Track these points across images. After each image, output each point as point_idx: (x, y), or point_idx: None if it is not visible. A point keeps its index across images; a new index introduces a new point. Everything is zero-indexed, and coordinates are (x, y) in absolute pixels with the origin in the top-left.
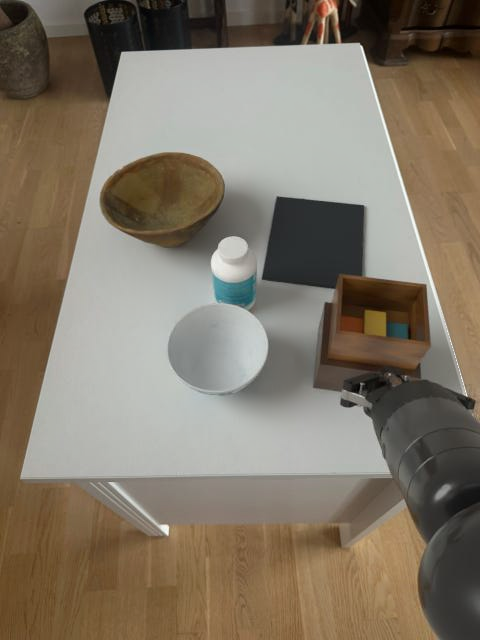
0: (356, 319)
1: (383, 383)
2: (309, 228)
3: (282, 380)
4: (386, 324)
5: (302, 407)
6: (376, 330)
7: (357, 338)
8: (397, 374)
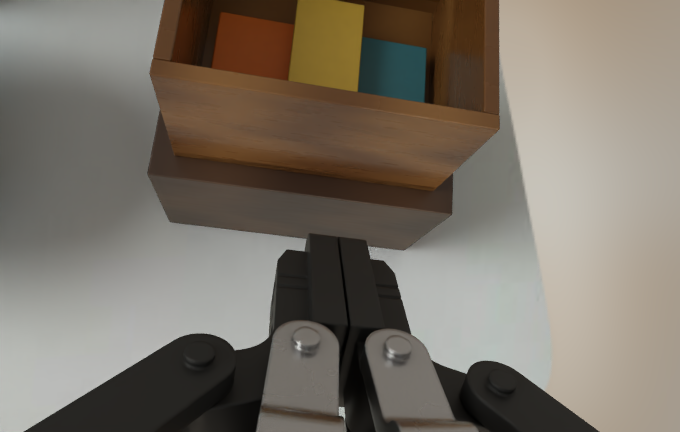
0: (272, 26)
1: (256, 410)
2: None
3: (82, 203)
4: (364, 46)
5: (134, 280)
6: (328, 65)
7: (240, 95)
8: (352, 321)
